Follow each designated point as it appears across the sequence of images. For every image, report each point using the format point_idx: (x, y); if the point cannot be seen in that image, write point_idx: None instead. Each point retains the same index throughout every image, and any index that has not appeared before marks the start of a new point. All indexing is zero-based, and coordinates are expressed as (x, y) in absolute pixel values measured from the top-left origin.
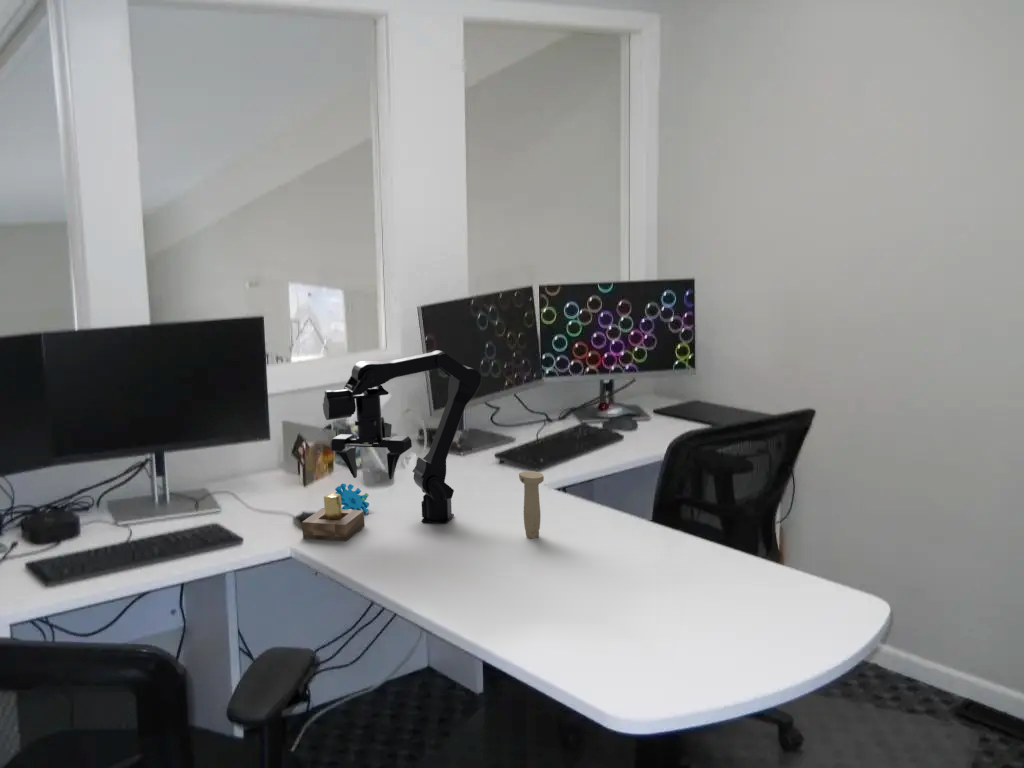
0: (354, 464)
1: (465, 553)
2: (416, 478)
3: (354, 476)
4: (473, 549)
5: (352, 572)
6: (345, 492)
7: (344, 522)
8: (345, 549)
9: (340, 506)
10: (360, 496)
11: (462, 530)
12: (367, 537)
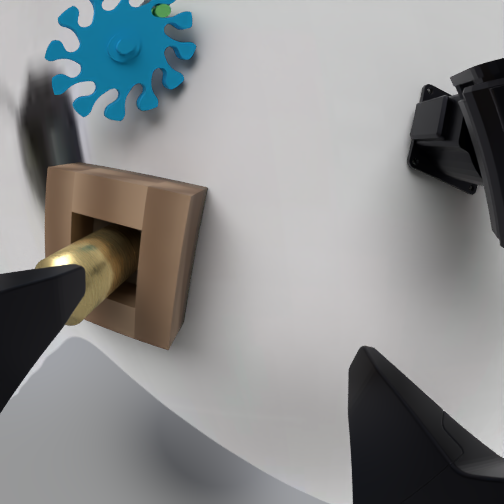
0: (16, 322)
1: (459, 389)
2: (492, 147)
3: (77, 303)
4: (478, 370)
5: (247, 457)
6: (85, 45)
7: (158, 328)
8: (199, 371)
9: (108, 287)
10: (149, 7)
11: (495, 253)
12: (238, 296)
